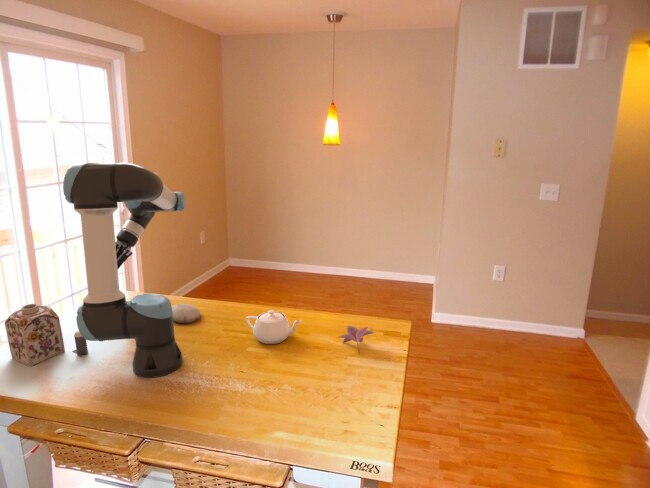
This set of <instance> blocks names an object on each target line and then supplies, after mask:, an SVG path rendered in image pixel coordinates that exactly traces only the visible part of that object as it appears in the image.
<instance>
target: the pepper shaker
mask: <svg viewBox="0 0 650 488" xmlns="http://www.w3.org/2000/svg"><path fill="white" fill-rule="evenodd" d="M74 343H75V348H76V349H77V353H76V354H77V356H78V357H84V356H86V355H88V354H89V350H88V343H87V340H86V339H85V338H84V337H82V335H81V334H80V332H79V330H77V331H75V333H74ZM76 349H75V350H76Z"/></svg>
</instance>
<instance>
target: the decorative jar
mask: <svg viewBox="0 0 650 488" xmlns="http://www.w3.org/2000/svg"><path fill="white" fill-rule="evenodd" d="M4 326H5V332H6V336H7V342H8V347H9V352H10V356H11V358H12V359H14V360H15V361H18V362H20V363H21V364H23V365H25V366H28V367H33V366H35V365H37V364H39V363H42V362H44V361H46V360H49V359H51V358H54V357H55V356H58V355H60V354H63V353H65V352H66V350H65V349H66V348H65V341H64V337H63V332H62V327H61V321H60V317H59V315H58V314H57V312H56V311H54V309H53V308H52V307H50V306H47V305H39V304H38V303H28V304H25V305H22V307H21V308H19V309H18V310H15V311H13V312H12V313H11V314H10V315H8V317H7V318H6V320H5V322H4Z"/></svg>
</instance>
